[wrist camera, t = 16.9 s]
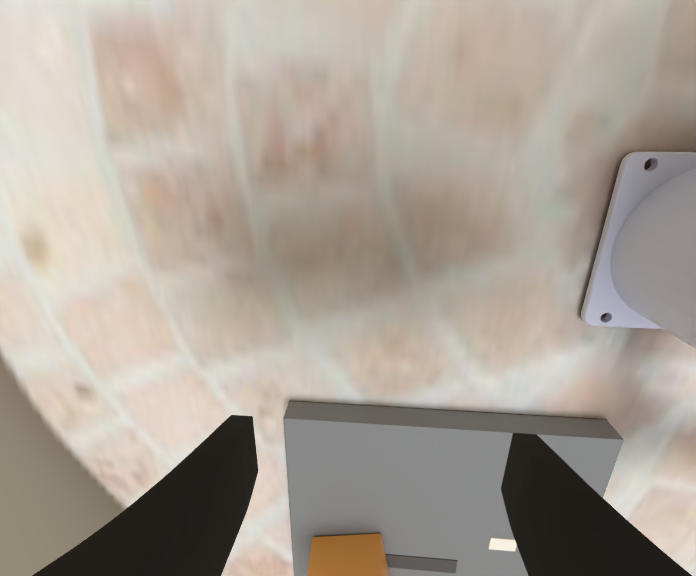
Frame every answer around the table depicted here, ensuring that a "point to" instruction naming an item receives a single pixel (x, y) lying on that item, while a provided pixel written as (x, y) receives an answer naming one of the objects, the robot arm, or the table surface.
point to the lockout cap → (348, 556)
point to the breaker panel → (423, 481)
